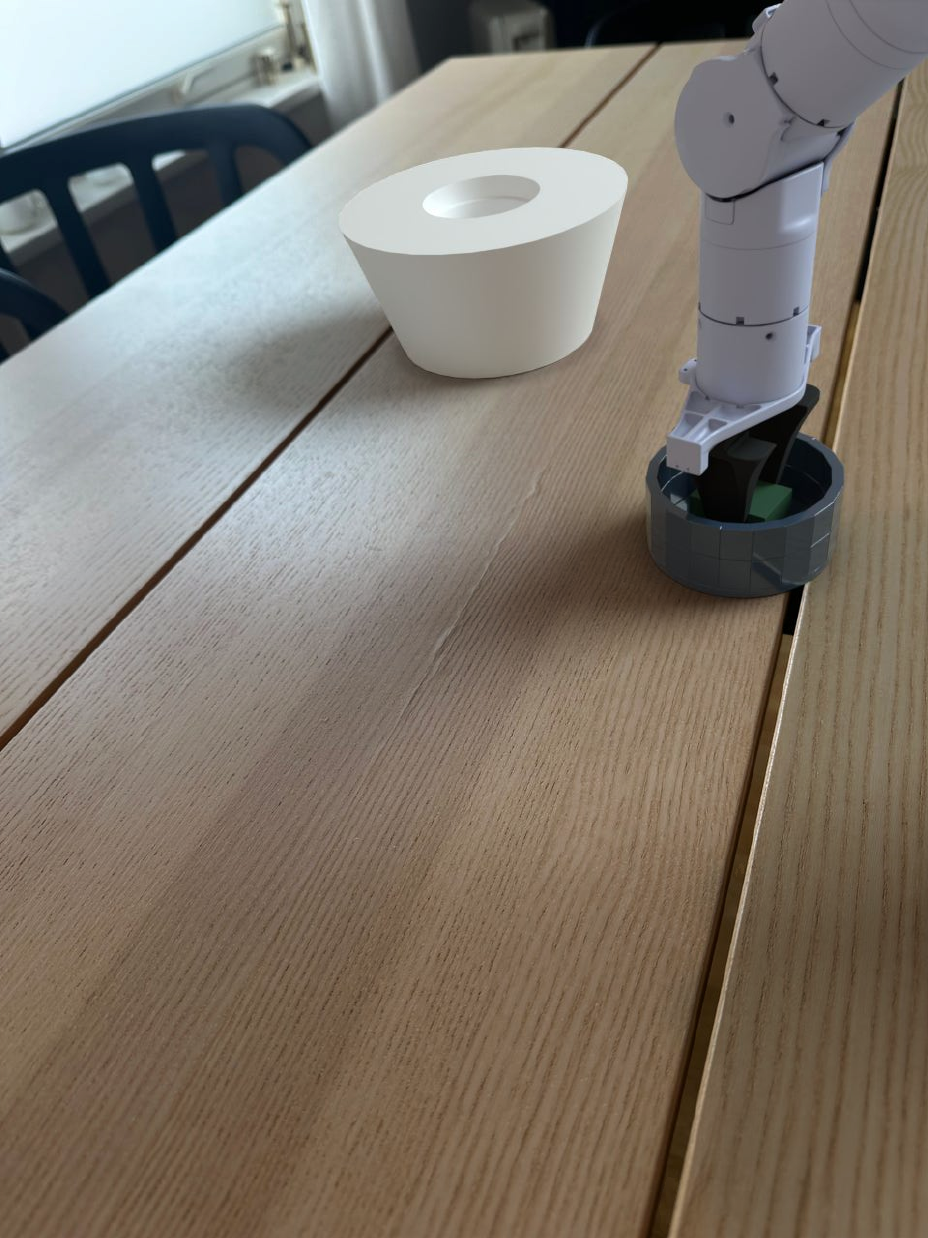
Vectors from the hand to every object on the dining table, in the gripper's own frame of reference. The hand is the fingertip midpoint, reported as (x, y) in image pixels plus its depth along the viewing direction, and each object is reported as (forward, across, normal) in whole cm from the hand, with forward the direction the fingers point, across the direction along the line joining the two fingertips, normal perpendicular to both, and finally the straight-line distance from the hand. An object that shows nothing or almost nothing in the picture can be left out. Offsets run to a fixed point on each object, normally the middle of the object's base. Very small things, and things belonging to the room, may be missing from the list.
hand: (740, 512), depth 61 cm
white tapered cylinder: (+2, -17, -33) cm, 37 cm away
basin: (+2, 0, 0) cm, 2 cm away
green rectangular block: (+2, 0, 0) cm, 2 cm away
